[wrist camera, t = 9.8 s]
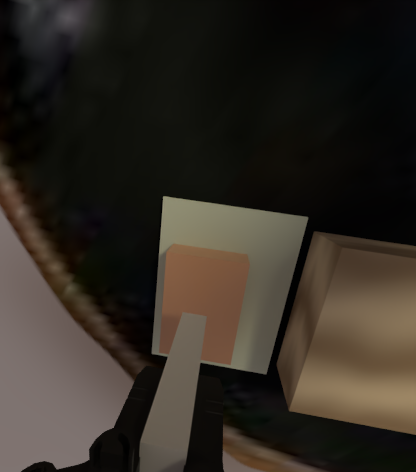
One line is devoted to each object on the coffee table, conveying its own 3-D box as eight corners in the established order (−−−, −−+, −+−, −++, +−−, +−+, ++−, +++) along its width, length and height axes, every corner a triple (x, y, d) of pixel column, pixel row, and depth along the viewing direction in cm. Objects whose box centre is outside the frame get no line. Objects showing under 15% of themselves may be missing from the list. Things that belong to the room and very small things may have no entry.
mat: (164, 196, 16) (163, 196, 16) (306, 216, 16) (308, 217, 15) (152, 351, 20) (151, 353, 20) (265, 371, 20) (266, 374, 19)
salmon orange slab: (250, 264, 14) (247, 254, 16) (166, 251, 15) (173, 243, 17) (230, 365, 17) (230, 346, 19) (158, 352, 17) (165, 335, 19)
